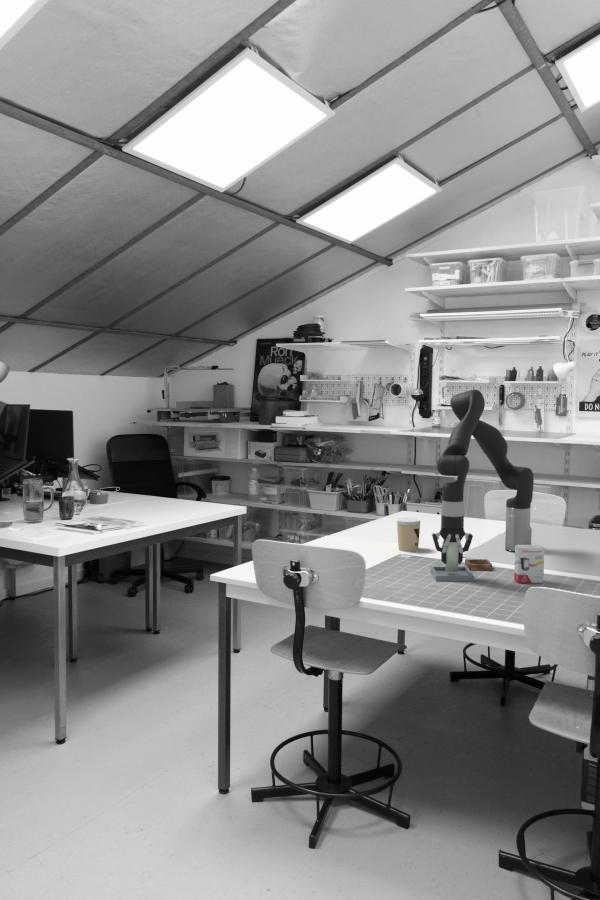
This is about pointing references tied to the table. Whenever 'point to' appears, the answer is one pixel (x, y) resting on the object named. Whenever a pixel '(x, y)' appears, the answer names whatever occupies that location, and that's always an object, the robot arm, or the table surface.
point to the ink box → (529, 564)
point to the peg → (452, 557)
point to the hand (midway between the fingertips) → (451, 563)
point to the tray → (451, 574)
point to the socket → (478, 564)
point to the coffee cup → (408, 534)
